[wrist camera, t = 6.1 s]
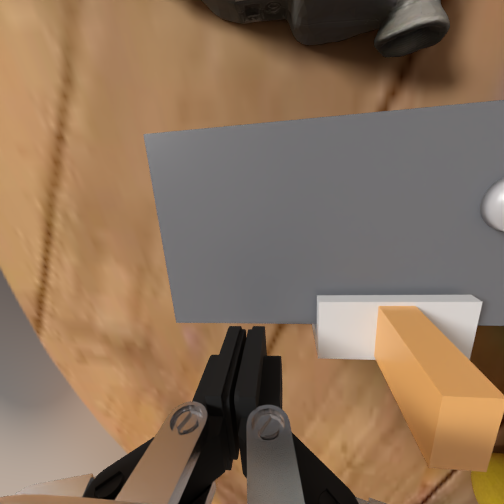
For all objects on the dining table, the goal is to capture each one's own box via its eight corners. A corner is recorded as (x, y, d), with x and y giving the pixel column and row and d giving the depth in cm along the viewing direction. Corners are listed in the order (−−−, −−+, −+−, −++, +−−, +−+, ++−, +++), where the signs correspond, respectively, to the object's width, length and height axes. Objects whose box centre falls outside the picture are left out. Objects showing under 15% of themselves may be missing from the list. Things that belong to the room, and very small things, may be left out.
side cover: (403, 250, 18) (629, 398, 6) (399, 290, 19) (588, 485, 7) (305, 253, 19) (341, 386, 7) (305, 291, 20) (337, 464, 8)
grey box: (539, 118, 16) (773, 69, 8) (502, 274, 18) (648, 342, 11) (193, 147, 18) (133, 131, 11) (210, 278, 21) (171, 334, 14)
